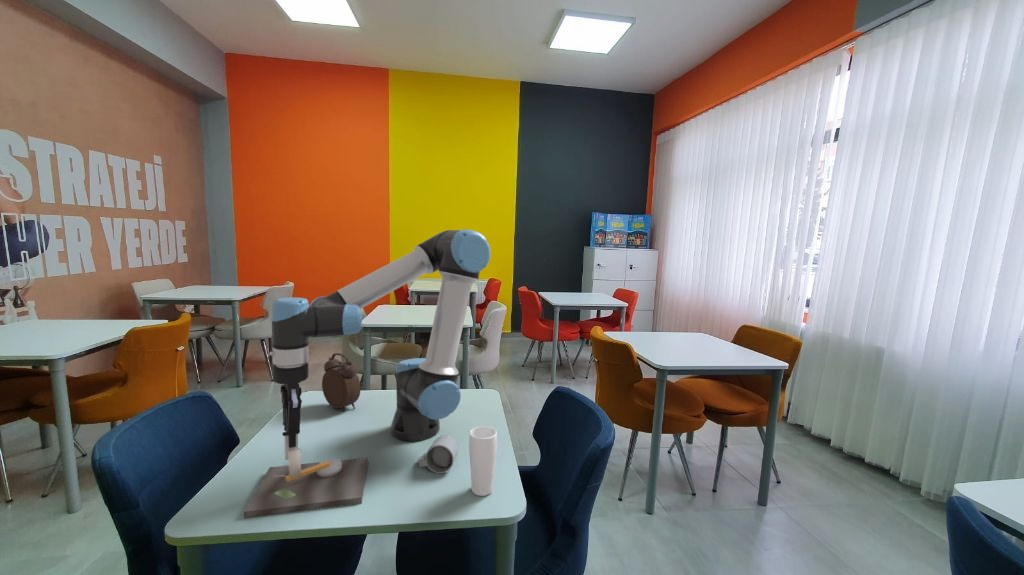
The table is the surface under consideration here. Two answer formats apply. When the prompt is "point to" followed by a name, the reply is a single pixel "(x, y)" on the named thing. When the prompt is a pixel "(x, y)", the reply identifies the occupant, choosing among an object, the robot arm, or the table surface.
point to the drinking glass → (482, 459)
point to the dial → (322, 469)
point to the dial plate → (308, 489)
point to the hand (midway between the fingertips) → (291, 457)
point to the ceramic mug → (440, 454)
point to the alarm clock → (340, 382)
